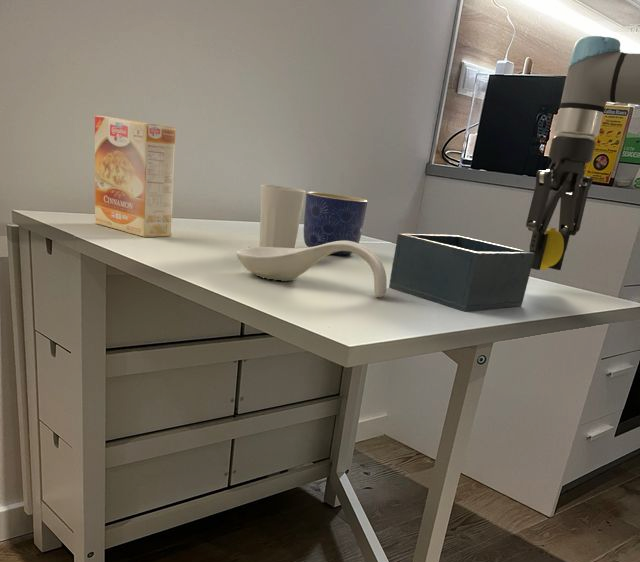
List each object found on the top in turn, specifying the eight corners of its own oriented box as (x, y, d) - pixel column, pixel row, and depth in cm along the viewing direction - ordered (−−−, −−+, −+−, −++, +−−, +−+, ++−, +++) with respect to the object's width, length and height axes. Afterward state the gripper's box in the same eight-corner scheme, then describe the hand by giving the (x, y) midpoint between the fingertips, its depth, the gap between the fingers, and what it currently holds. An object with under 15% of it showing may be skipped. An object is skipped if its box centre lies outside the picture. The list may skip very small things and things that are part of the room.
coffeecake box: (93, 223, 130) (93, 114, 123) (123, 223, 136) (124, 119, 128) (143, 237, 122) (145, 122, 115) (172, 236, 128) (177, 126, 120)
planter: (287, 246, 137) (293, 190, 132) (328, 245, 145) (335, 193, 141) (331, 258, 129) (339, 199, 125) (371, 256, 138) (380, 202, 134)
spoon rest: (223, 275, 100) (226, 226, 97) (250, 265, 110) (254, 221, 107) (376, 304, 95) (384, 253, 92) (389, 291, 106) (397, 245, 103)
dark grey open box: (521, 306, 109) (535, 253, 105) (465, 311, 99) (478, 253, 95) (446, 284, 119) (457, 235, 116) (388, 287, 109) (397, 233, 105)
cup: (275, 261, 118) (282, 190, 113) (245, 252, 122) (251, 183, 118) (306, 260, 123) (314, 192, 119) (276, 251, 128) (283, 186, 123)
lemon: (526, 269, 126) (536, 225, 123) (529, 266, 130) (539, 224, 127) (556, 274, 124) (567, 230, 121) (558, 271, 129) (569, 228, 126)
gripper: (588, 142, 126) (557, 265, 135) (524, 130, 116) (495, 264, 125) (623, 144, 121) (589, 272, 129) (559, 132, 110) (527, 272, 119)
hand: (543, 268), depth 127 cm, fingers closed on lemon, 5 cm apart
